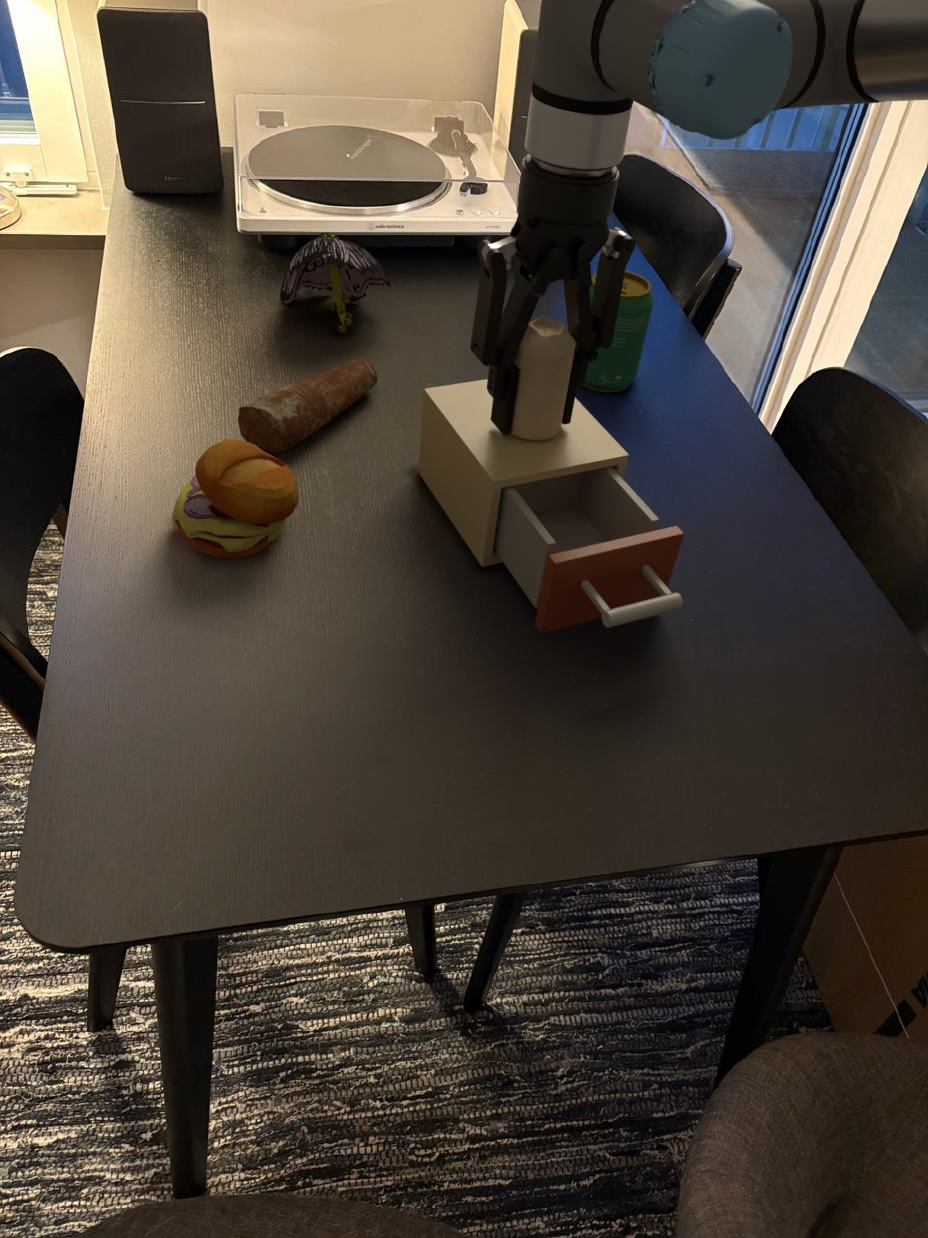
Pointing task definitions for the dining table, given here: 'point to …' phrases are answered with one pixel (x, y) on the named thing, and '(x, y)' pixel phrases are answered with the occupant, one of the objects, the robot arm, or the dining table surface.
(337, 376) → the brown sausage
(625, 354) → the beverage can
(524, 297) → the robot arm
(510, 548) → the drawer
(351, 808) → the dining table surface
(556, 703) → the dining table surface
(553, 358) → the candle
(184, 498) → the cheeseburger
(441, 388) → the small drawer cabinet
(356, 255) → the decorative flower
